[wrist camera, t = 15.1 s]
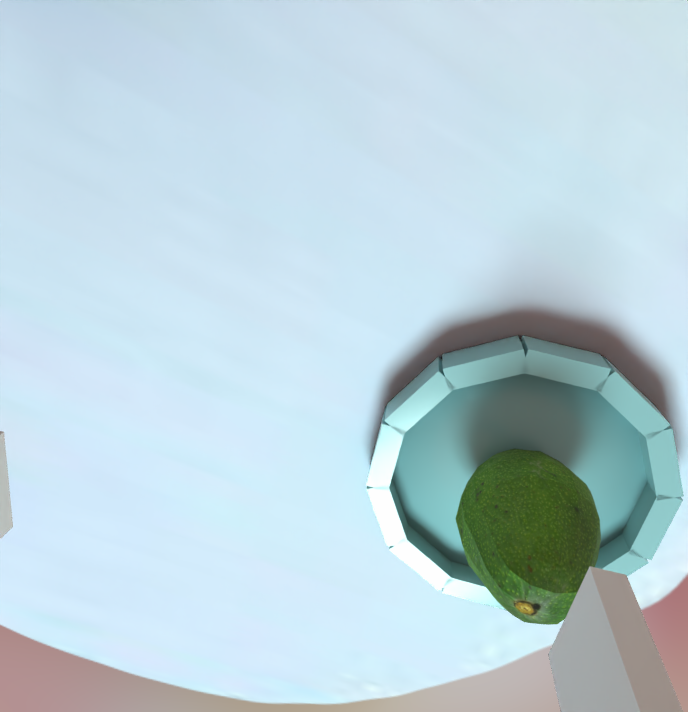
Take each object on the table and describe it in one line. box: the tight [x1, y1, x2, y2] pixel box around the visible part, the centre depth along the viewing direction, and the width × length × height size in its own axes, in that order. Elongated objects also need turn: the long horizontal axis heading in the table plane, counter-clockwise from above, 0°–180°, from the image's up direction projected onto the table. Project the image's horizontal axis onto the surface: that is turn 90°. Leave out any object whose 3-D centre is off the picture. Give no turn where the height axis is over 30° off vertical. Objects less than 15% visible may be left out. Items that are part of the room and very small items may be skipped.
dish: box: [366, 335, 683, 610], centre depth 38 cm, size 19×19×2 cm
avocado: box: [456, 448, 601, 624], centre depth 33 cm, size 8×8×12 cm
